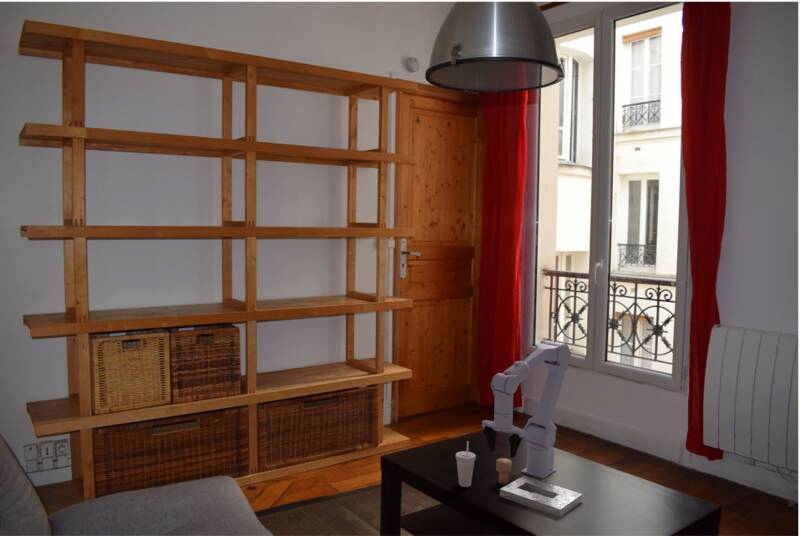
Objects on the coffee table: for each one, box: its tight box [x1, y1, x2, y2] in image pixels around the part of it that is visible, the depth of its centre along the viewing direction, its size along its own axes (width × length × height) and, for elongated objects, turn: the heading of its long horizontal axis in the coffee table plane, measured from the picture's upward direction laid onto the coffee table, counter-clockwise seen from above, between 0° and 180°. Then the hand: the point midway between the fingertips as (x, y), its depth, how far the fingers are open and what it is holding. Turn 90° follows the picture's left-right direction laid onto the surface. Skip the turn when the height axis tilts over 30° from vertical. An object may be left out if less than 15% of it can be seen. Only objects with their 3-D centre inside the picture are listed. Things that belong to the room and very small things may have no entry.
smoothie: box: [455, 440, 477, 488], centre depth 202 cm, size 6×6×14 cm
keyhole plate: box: [499, 475, 583, 518], centre depth 193 cm, size 14×20×2 cm
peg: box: [495, 457, 513, 485], centre depth 205 cm, size 5×5×7 cm
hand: (502, 454), depth 202 cm, fingers open, 7 cm apart
